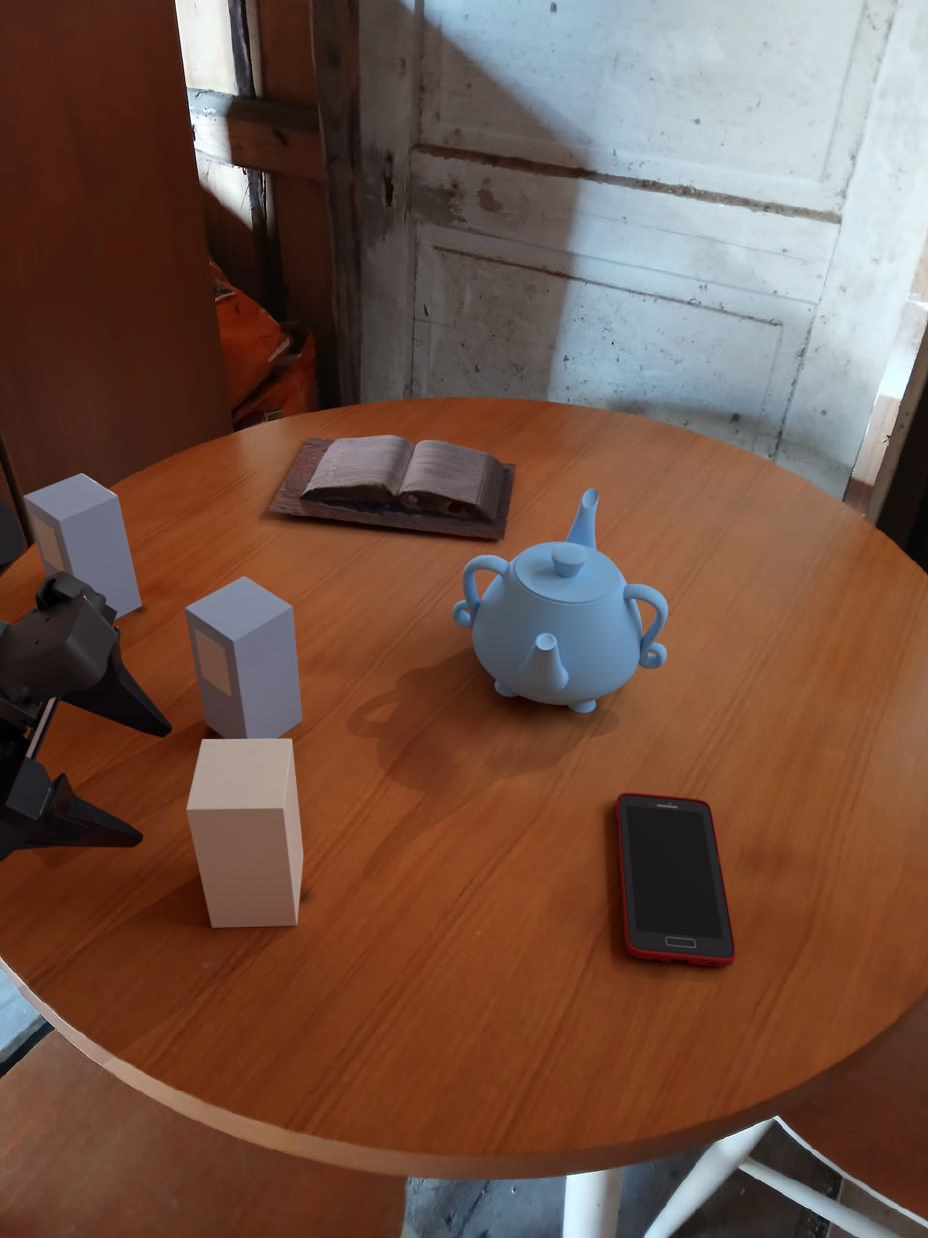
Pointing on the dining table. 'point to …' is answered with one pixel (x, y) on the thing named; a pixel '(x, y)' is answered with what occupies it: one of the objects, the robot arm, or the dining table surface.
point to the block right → (246, 661)
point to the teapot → (561, 620)
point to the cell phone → (672, 881)
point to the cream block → (247, 831)
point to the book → (399, 485)
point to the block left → (85, 538)
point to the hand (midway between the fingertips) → (154, 784)
